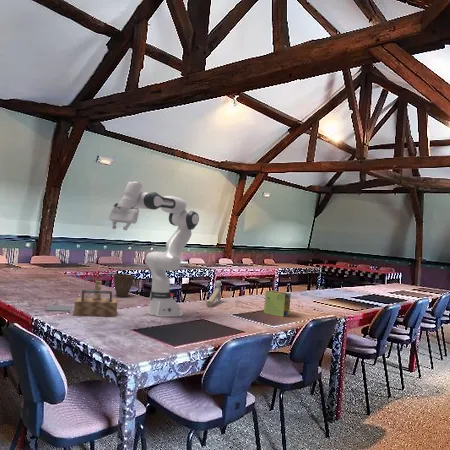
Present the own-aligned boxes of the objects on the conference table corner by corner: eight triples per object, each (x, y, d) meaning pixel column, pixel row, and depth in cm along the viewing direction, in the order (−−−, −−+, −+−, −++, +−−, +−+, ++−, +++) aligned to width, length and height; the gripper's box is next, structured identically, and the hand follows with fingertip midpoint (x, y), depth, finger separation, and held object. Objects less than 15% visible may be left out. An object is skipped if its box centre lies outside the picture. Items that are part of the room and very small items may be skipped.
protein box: (283, 317, 289) (285, 294, 290) (263, 313, 298) (265, 291, 298) (289, 315, 298) (291, 293, 299) (269, 311, 306) (271, 290, 307)
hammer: (212, 294, 301) (221, 280, 330) (206, 293, 302) (216, 280, 331) (212, 315, 304) (221, 299, 333) (205, 314, 305) (215, 298, 334)
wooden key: (99, 305, 260) (101, 280, 260) (99, 306, 256) (101, 281, 256) (93, 305, 259) (95, 280, 259) (93, 306, 255) (95, 281, 255)
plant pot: (110, 294, 322) (112, 273, 322) (129, 294, 328) (131, 274, 328) (113, 298, 309) (115, 276, 309) (134, 298, 315) (135, 276, 315)
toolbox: (116, 311, 264) (118, 288, 264) (116, 316, 251) (118, 292, 251) (76, 310, 258) (78, 286, 258) (73, 315, 245) (75, 290, 245)
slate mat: (72, 306, 267) (72, 305, 267) (70, 311, 254) (70, 310, 254) (48, 306, 264) (49, 305, 264) (45, 310, 250) (45, 309, 250)
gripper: (143, 209, 238) (135, 232, 234) (119, 208, 250) (111, 230, 246) (135, 205, 233) (127, 228, 229) (111, 204, 245) (103, 226, 241)
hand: (119, 229), depth 238 cm, fingers open, 8 cm apart
